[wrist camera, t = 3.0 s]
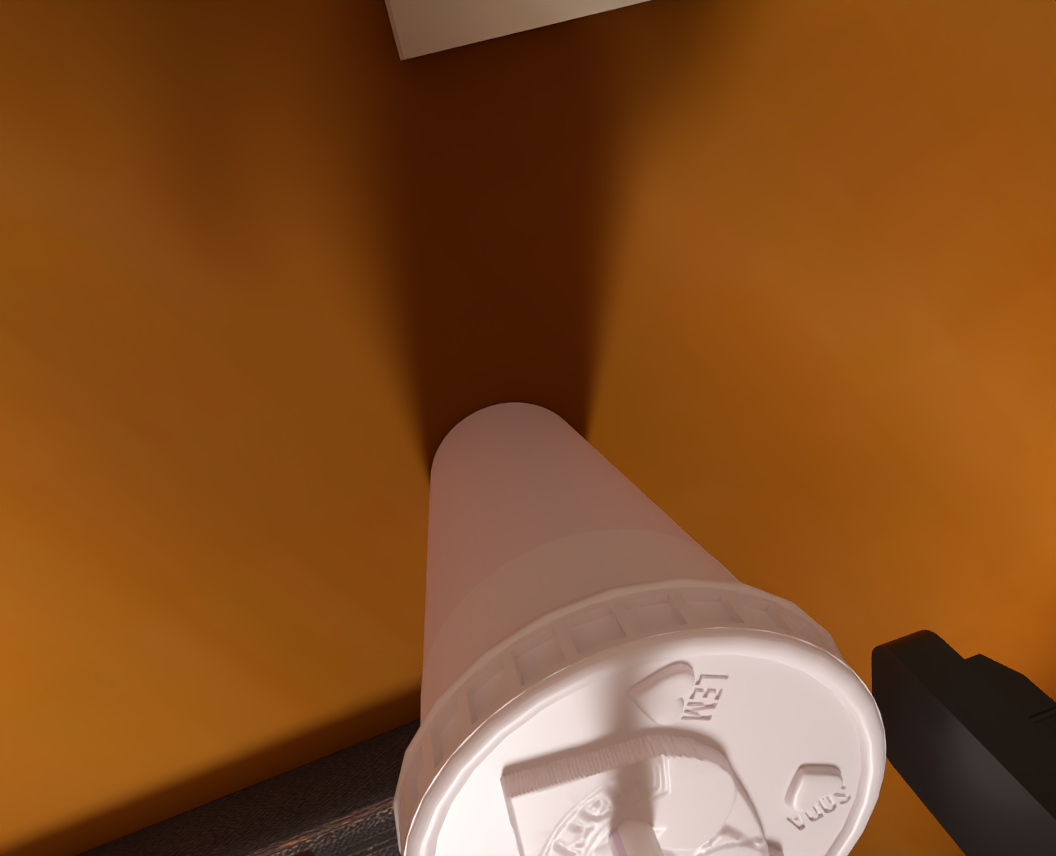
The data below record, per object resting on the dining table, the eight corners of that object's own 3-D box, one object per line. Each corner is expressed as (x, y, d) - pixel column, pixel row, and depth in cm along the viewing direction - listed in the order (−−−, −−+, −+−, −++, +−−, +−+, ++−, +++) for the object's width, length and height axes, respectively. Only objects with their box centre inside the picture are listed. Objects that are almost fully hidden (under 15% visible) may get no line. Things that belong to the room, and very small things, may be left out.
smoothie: (475, 289, 16) (939, 1035, 4) (689, 432, 19) (1389, 1148, 6) (316, 521, 17) (249, 1635, 5) (536, 623, 20) (852, 1520, 8)
